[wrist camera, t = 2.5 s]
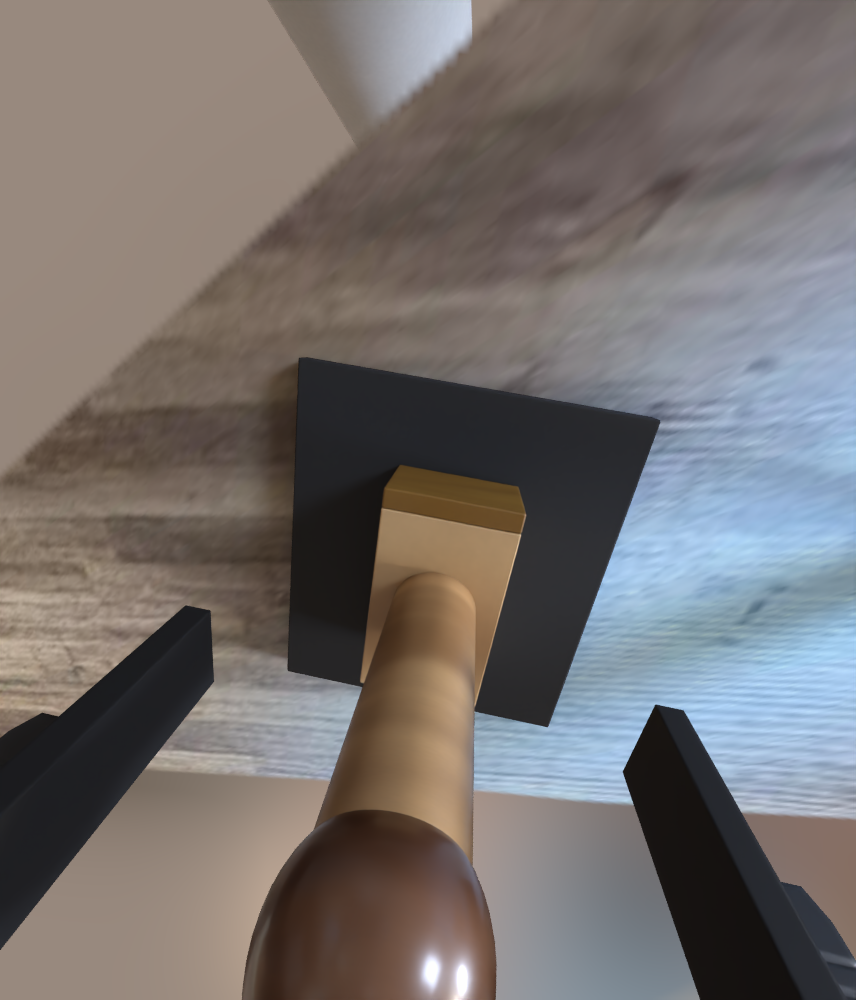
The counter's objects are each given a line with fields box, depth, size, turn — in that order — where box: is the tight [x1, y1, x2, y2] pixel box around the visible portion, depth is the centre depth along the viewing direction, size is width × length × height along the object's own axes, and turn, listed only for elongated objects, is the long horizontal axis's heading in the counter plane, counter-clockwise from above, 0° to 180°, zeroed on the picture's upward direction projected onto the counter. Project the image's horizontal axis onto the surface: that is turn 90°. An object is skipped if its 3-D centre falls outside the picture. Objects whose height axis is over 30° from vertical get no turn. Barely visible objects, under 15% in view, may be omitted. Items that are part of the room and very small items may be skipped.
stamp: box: [242, 465, 526, 1000], centre depth 12 cm, size 9×5×14 cm, turn 171°
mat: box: [288, 357, 660, 727], centre depth 19 cm, size 16×14×1 cm
